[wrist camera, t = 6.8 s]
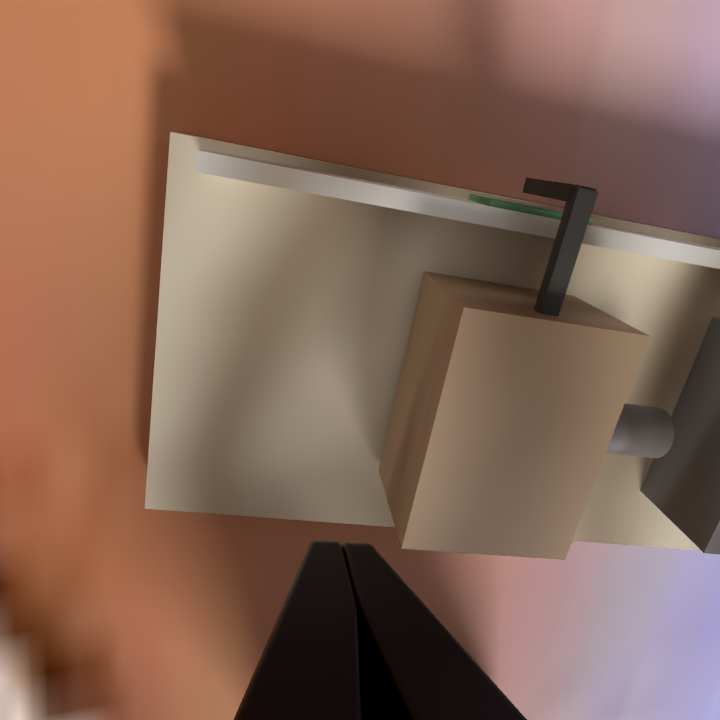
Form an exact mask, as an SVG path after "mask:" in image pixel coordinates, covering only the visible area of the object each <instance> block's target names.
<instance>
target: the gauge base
mask: <svg viewBox="0 0 720 720" xmlns="http://www.w3.org/2000/svg"><path fill="white" fill-rule="evenodd" d="M563 211H564V208H559V207H554V206H549V205H544V204H539V203H534V202H529V201H524V200H519V199H514V198H509V197H504V196H498V195H493V194H488V193H483V192H478V191H473V190H468V189H463V188H458V187H453V186H448V185H443V184H437V183H432V182H427V181H422V180H417V179H412V178H407V177H402V176H397V175H392V174H387V173H381V172H376V171H371V170H366V169H361V168H356V167H351V166H346V165H341V164H336V163H331V162H326V161H320V160H315V159H310V158H305V157H300V156H295V155H290V154H285V153H280V152H275V151H270V150H265V149H259V148H254V147H249V146H244V145H239V144H234V143H229V142H224V141H219V140H214V139H209V138H204V137H198V136H193V135H188V134H183V133H176V132H170V141H169V156H168V171H167V185H166V200H165V215H164V230H163V245H162V259H161V274H160V289H159V304H158V318H157V333H156V348H155V363H154V378H153V392H152V407H151V422H150V437H149V451H148V466H147V481H146V496H145V509H156V510H170V511H183V512H196V513H210V514H223V515H236V516H250V517H263V518H276V519H290V520H303V521H316V522H330V523H343V524H356V525H370V526H383V527H395V525H394V522H393V518H392V515H391V511H390V508H389V505H388V501H387V498H386V494H385V491H384V488H383V484H382V481H381V477H380V474H379V471H378V470H379V466H380V461H381V457H382V453H383V448H384V444H385V439H386V435H387V431H388V426H389V422H390V418H391V413H392V409H393V404H394V400H395V396H396V391H397V387H398V383H399V378H400V374H401V369H402V365H403V361H404V356H405V352H406V348H407V343H408V339H409V334H410V330H411V326H412V321H413V317H414V313H415V308H416V304H417V299H418V295H419V291H420V286H421V282H422V278H423V273H424V271H426V272H433V273H439V274H445V275H451V276H457V277H463V278H469V279H475V280H481V281H487V282H493V283H499V284H505V285H511V286H517V287H523V288H529V289H535V290H540V287H541V284H542V281H543V277H544V274H545V271H546V267H547V264H548V261H549V258H550V254H551V251H552V248H553V244H554V241H555V238H556V234H557V231H558V228H559V224H560V221H561V218H562V215H563ZM566 295H572V296H575V297H577V298H579V299H581V300H583V301H585V302H586V303H588V304H590V305H592V306H594V307H596V308H598V309H600V310H602V311H604V312H605V313H607V314H609V315H611V316H613V317H615V318H617V319H619V320H621V321H623V322H624V323H626V324H628V325H630V326H632V327H634V328H636V329H638V330H640V331H642V332H643V333H645V334H647V335H649V336H650V338H649V341H648V344H647V346H646V349H645V351H644V354H643V357H642V359H641V362H640V365H639V367H638V370H637V372H636V375H635V378H634V380H633V383H632V385H631V388H630V391H629V393H628V396H627V399H626V401H625V403H627V404H634V405H642V406H650V407H658V408H662V409H664V410H665V411H666V412H667V413H668V414H669V415H670V417H671V419H672V421H673V424H674V440H673V443H672V446H671V448H670V450H669V451H668V452H667V453H666V454H665V455H664V456H662V457H660V458H648V457H639V456H629V455H620V454H611V453H606V454H605V456H604V459H603V461H602V464H601V467H600V469H599V472H598V475H597V477H596V480H595V482H594V485H593V488H592V490H591V493H590V495H589V498H588V501H587V503H586V506H585V509H584V511H583V514H582V516H581V519H580V522H579V524H578V527H577V530H576V532H575V535H574V537H573V540H572V541H583V542H596V543H610V544H623V545H636V546H649V547H663V548H676V549H689V550H701V551H702V552H703V553H711V554H720V239H717V238H712V237H707V236H702V235H697V234H692V233H687V232H681V231H676V230H671V229H666V228H661V227H656V226H651V225H646V224H641V223H636V222H631V221H626V220H620V219H615V218H610V217H605V216H600V215H595V214H591V216H590V219H589V222H588V225H587V228H586V232H585V235H584V238H583V241H582V244H581V247H580V250H579V254H578V257H577V260H576V263H575V266H574V269H573V272H572V275H571V279H570V282H569V285H568V288H567V291H566Z"/></svg>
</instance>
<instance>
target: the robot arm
mask: <svg viewBox="0 0 720 720" xmlns="http://www.w3.org/2000/svg"><path fill="white" fill-rule="evenodd" d="M234 720H527V719H526V718H525V717H524V716H523V715H522V714H521V713H520V711H519V710H518V709H517V708H516V707H515V706H514V705H513V704H512V702H511V701H510V700H509V699H508V698H507V697H506V696H505V695H504V693H503V692H502V691H501V690H500V689H499V688H498V687H497V686H496V684H495V683H494V682H493V681H492V680H491V679H490V678H489V677H488V675H487V674H486V673H485V672H484V671H483V670H482V669H481V668H480V666H479V665H478V664H477V663H476V662H475V661H474V660H473V659H472V657H471V656H470V655H469V654H468V653H467V652H466V651H465V650H464V648H463V647H462V646H461V645H460V644H459V643H458V642H457V641H456V639H455V638H454V637H453V636H452V635H451V634H450V633H449V632H448V630H447V629H446V628H445V627H444V626H443V625H442V624H441V623H440V621H439V620H438V619H437V618H436V617H435V616H434V615H433V614H432V612H431V611H430V610H429V609H428V608H427V607H426V606H425V605H424V603H423V602H422V601H421V600H420V599H419V598H418V597H417V596H416V594H415V593H414V592H413V591H412V590H411V589H410V588H409V587H408V585H407V584H406V583H405V582H404V581H403V580H402V579H401V578H400V576H399V575H398V574H397V573H396V572H395V571H394V570H393V569H392V567H391V566H390V565H389V564H388V563H387V562H386V561H385V560H384V558H383V557H382V556H381V555H380V554H379V553H378V552H377V551H376V549H375V548H374V547H373V546H371V545H370V544H364V543H349V542H346V543H343V544H342V545H341V544H339V543H338V542H334V541H319V540H314V541H312V542H311V543H310V545H309V547H308V550H307V552H306V554H305V557H304V559H303V561H302V564H301V566H300V568H299V570H298V573H297V575H296V577H295V580H294V582H293V584H292V587H291V589H290V591H289V593H288V596H287V598H286V600H285V603H284V605H283V607H282V610H281V612H280V614H279V616H278V619H277V621H276V623H275V626H274V628H273V630H272V633H271V635H270V637H269V639H268V642H267V644H266V646H265V649H264V651H263V653H262V656H261V658H260V660H259V662H258V665H257V667H256V669H255V672H254V674H253V676H252V679H251V681H250V683H249V685H248V688H247V690H246V692H245V695H244V697H243V699H242V702H241V704H240V706H239V709H238V711H237V713H236V715H235V718H234Z"/></svg>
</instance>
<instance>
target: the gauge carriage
mask: <svg viewBox="0 0 720 720" xmlns="http://www.w3.org/2000/svg"><path fill="white" fill-rule="evenodd" d="M596 190H597V189H593V188H589V187H584V186H579V185H572V184H566V183H559V182H552V181H545V180H538V179H531V178H526V181H525V184H524V188H523V192H524V193H529V194H534V195H538V196H543V197H548V198H553V199H558V200H563V201H566V205H565V208H564V211H563V215H562V218H561V221H560V224H559V228H558V231H557V234H556V238H555V241H554V244H553V248H552V251H551V254H550V258H549V261H548V264H547V267H546V271H545V274H544V277H543V281H542V284H541V287H540V290H535V289H529V288H523V287H517V286H511V285H505V284H499V283H493V282H487V281H481V280H475V279H469V278H463V277H457V276H451V275H445V274H439V273H433V272H426V271H424V273H423V278H422V282H421V286H420V291H419V295H418V299H417V304H416V308H415V313H414V317H413V321H412V326H411V330H410V334H409V339H408V343H407V348H406V352H405V356H404V361H403V365H402V369H401V374H400V378H399V383H398V387H397V391H396V396H395V400H394V404H393V409H392V413H391V418H390V422H389V426H388V431H387V435H386V439H385V444H384V448H383V453H382V457H381V461H380V466H379V470H378V471H379V474H380V477H381V481H382V484H383V488H384V491H385V494H386V498H387V501H388V505H389V508H390V511H391V515H392V518H393V522H394V525H395V528H396V532H397V535H398V539H399V542H400V545H401V549H414V550H428V551H443V552H458V553H473V554H487V555H502V556H517V557H532V558H546V559H561V560H565V558H566V556H567V553H568V550H569V548H570V545H571V543H572V540H573V537H574V535H575V532H576V530H577V527H578V524H579V522H580V519H581V516H582V514H583V511H584V509H585V506H586V503H587V501H588V498H589V495H590V493H591V490H592V488H593V485H594V482H595V480H596V477H597V475H598V472H599V469H600V467H601V464H602V461H603V459H604V456H605V454H606V453H611V454H620V455H629V456H639V457H648V458H660V457H662V456H664V455H665V454H666V453H667V452H668V451H669V450H670V448H671V446H672V443H673V440H674V424H673V421H672V419H671V417H670V415H669V414H668V413H667V412H666V411H665V410H664V409H662V408H658V407H650V406H642V405H634V404H627V403H625V401H626V399H627V396H628V393H629V391H630V388H631V385H632V383H633V380H634V378H635V375H636V372H637V370H638V367H639V365H640V362H641V359H642V357H643V354H644V351H645V349H646V346H647V344H648V341H649V338H650V336H649V335H647V334H645V333H643V332H642V331H640V330H638V329H636V328H634V327H632V326H630V325H628V324H626V323H624V322H623V321H621V320H619V319H617V318H615V317H613V316H611V315H609V314H607V313H605V312H604V311H602V310H600V309H598V308H596V307H594V306H592V305H590V304H588V303H586V302H585V301H583V300H581V299H579V298H577V297H575V296H572V295H566V291H567V288H568V285H569V282H570V279H571V275H572V272H573V269H574V266H575V263H576V260H577V257H578V254H579V250H580V247H581V244H582V241H583V238H584V235H585V232H586V228H587V225H588V222H589V219H590V216H591V213H592V210H593V207H594V203H595V200H596V197H597V194H598V192H597V191H596Z"/></svg>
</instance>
